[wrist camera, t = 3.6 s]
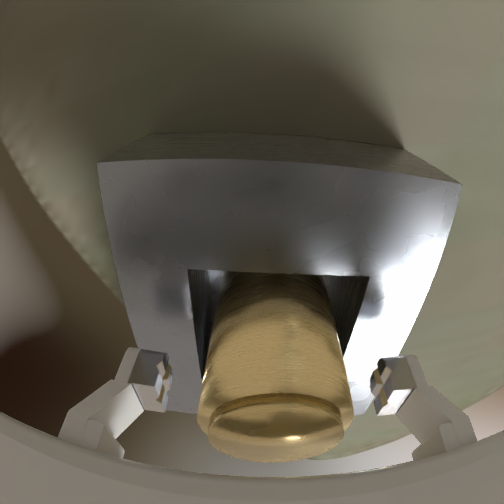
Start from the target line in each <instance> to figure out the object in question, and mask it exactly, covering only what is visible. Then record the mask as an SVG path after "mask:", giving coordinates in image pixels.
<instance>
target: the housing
mask: <svg viewBox="0 0 504 504" xmlns="http://www.w3.org/2000/svg"><path fill="white" fill-rule="evenodd" d="M97 170H98V178H99V185H100V192H101V198H102V204H103V210H104V216H105V221H106V226H107V232H108V237H109V242H110V246H111V251H112V255H113V260H114V264H115V268H116V273H117V277H118V281H119V285H120V288H121V292H122V296H123V300H124V303H125V307H126V310H127V314H128V317H129V320H130V324H131V327H132V330H133V334H134V337H135V340H136V343H137V346H138V349H145V350H151V351H157V352H164V353H168V356H169V362H168V364H169V365H171V367H172V374H173V376H172V385H171V389H170V390H168V391H167V392H166V393H167V396H168V401H167V405H166V409H165V410H170V411H177V412H185V413H194V414H198V407H199V401H200V395H201V389H202V383H203V378H204V372H205V366H206V360H207V355H208V349H209V343H210V338H211V332H212V327H213V321H214V316H215V310H216V305H217V300H218V294H219V289H220V284H221V279H222V273H223V271H238V272H261V273H285V274H312V275H323V279H324V282H325V286H326V290H327V294H328V298H329V302H330V305H331V309H332V313H333V317H334V322H335V326H336V330H337V334H338V338H339V343H340V347H341V351H342V356H343V360H344V365H345V369H346V374H347V379H348V383H349V388H350V393H351V398H352V403H353V408H354V416H355V415H363V414H364V413H365V411H366V410H367V408H368V406H369V405H370V403H371V402H372V400H373V398H374V397H375V396H374V395H373V394H372V393H371V389H370V377H371V374H372V372H373V371H374V370H375V369H376V368H378V367H377V362H378V360H379V359H380V358H384V357H395V356H398V354H399V352H400V350H401V348H402V346H403V344H404V342H405V340H406V338H407V336H408V334H409V332H410V330H411V328H412V326H413V324H414V322H415V319H416V317H417V315H418V313H419V311H420V308H421V306H422V304H423V301H424V299H425V297H426V294H427V292H428V289H429V287H430V284H431V282H432V279H433V277H434V274H435V272H436V269H437V266H438V264H439V261H440V258H441V255H442V252H443V249H444V246H445V243H446V240H447V237H448V234H449V231H450V228H451V225H452V221H453V218H454V214H455V211H456V207H457V204H458V200H459V196H460V192H461V188H462V184H461V183H459V182H458V181H456V180H455V179H453V178H452V177H450V176H448V175H447V174H445V173H444V172H442V171H440V170H439V169H437V168H436V167H434V166H432V165H431V164H429V163H427V162H426V161H424V160H422V159H421V158H419V157H417V156H415V155H414V154H412V153H410V152H408V151H407V150H404V149H398V148H392V147H386V146H380V145H374V144H367V143H360V142H352V141H344V140H336V139H326V138H316V137H305V136H292V135H277V134H257V133H170V134H150V135H147V136H145V137H143V138H141V139H139V140H137V141H135V142H133V143H131V144H129V145H128V146H126V147H124V148H122V149H120V150H118V151H116V152H115V153H113V154H111V155H109V156H108V157H106V158H104V159H102V160H101V161H99V162H97Z"/></svg>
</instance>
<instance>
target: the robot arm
mask: <svg viewBox="0 0 504 504" xmlns="http://www.w3.org/2000/svg"><path fill="white" fill-rule="evenodd" d="M168 362H169V356H168V353H164V352H157V351H151V350H145V349H138V348H131V347H129V348H128V349H127V351H126V353H125V355H124V357H123V360H122V362H121V365H120V367H119V370H118V372H117V375H116V377H115V380H110V381H109V382H107V383H106V384H104V385H103V386H102V387H100V388H99V389H98V390H96V391H95V392H94V393H92V394H91V395H90V396H88V397H87V398H85V399H84V400H83V401H81V402H80V403H79V404H77V405H76V406H74V407H73V408H72V409H70V410H69V411H68V414H67V416H66V418H65V421H64V423H63V426H62V428H61V431H60V433H59V436H58V438H56V437H54V436H51V435H49V434H47V433H44V432H42V431H39V430H37V429H35V428H32V427H30V426H28V425H26V424H23V423H21V422H19V421H17V420H15V419H13V418H11V417H9V416H7V415H5V414H3V413H1V412H0V504H504V430H503V431H501V432H499V433H497V434H494V435H492V436H490V437H487V438H484V439H482V440H479V441H477V439H476V436H475V433H474V431H473V427H472V425H471V422H470V419H469V417H468V416H467V415H466V414H465V413H464V412H462V411H461V410H460V409H459V408H458V407H456V406H455V405H454V404H453V403H452V402H450V401H449V400H448V399H447V398H446V397H444V396H443V395H442V394H441V393H439V392H438V391H437V390H436V389H435V388H433V387H432V386H428V384H427V381H426V378H425V376H424V373H423V371H422V369H421V366H420V364H419V361H418V359H417V357H416V356H415V355H409V356H395V357H384V358H380V359H379V360H378V362H377V367H378V368H376V369H375V370H374V371H373V372H372V374H371V377H370V389H371V393H372V394H373V395H374V396H375V397H376V398H375V400H374V406H375V410H376V414H377V416H380V415H389V414H396V416H397V417H398V418H399V419H400V420H401V422H402V423H403V424H404V425H405V426H406V427H407V428H408V429H409V431H410V432H411V433H412V434H413V435H414V436H415V437H416V438H417V439H418V441H419V442H420V443H421V445H420V446H419V447H417V448H416V449H415V450H414V451H413V453H412V456H413V461H410V462H406V463H402V464H397V465H392V466H387V467H382V468H376V469H370V470H364V471H357V472H349V473H341V474H331V475H319V476H302V477H245V476H228V475H215V474H206V473H197V472H190V471H182V470H176V469H170V468H164V467H158V466H154V465H149V464H144V463H139V462H135V461H131V460H126V459H123V455H124V449H123V448H122V447H121V445H120V444H119V443H118V442H117V441H116V438H117V437H118V436H119V435H120V434H121V433H122V432H123V431H124V430H125V429H126V428H127V427H128V426H129V425H130V424H131V423H132V422H133V421H134V420H135V419H136V418H137V417H138V416H139V415H140V414H141V413H142V412H143V411H144V410H151V411H158V412H165V409H166V405H167V401H168V396H167V393H166V392H167V391H168V390H170V389H171V385H172V376H173V374H172V367H171V365H169V364H168ZM143 409H144V410H143Z"/></svg>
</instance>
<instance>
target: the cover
mask: <svg viewBox="0 0 504 504" xmlns="http://www.w3.org/2000/svg"><path fill="white" fill-rule="evenodd" d="M353 417H354V408H353V403H352V398H351V393H350V388H349V383H348V379H347V374H346V369H345V365H344V360H343V356H342V351H341V347H340V343H339V338H338V334H337V330H336V326H335V322H334V317H333V313H332V309H331V305H330V302H329V298H328V294H327V290H326V286H325V282H324V279H323V275H312V274H285V273H261V272H238V271H223V273H222V279H221V284H220V289H219V294H218V300H217V305H216V310H215V316H214V321H213V327H212V332H211V338H210V343H209V349H208V355H207V360H206V366H205V372H204V378H203V383H202V389H201V395H200V401H199V407H198V414H197V421H198V424H199V426H200V428H201V429H202V430H203V431H204V432H205V433H206V434H207V435H208V441H209V442H210V444H211V445H212V446H213V447H214V448H215V449H217V450H218V451H220V452H222V453H224V454H226V455H229V456H232V457H235V458H238V459H243V460H248V461H255V462H288V461H296V460H301V459H306V458H310V457H313V456H316V455H319V454H321V453H324V452H326V451H328V450H330V449H331V448H333V447H334V446H336V445H337V444H338V443H339V442H340V441H341V440H342V438H343V436H344V430H345V429H346V428H347V427H348V426H349V425H350V424H351V422H352V420H353Z"/></svg>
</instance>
